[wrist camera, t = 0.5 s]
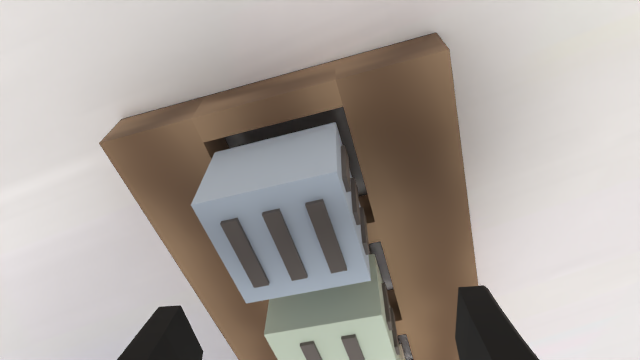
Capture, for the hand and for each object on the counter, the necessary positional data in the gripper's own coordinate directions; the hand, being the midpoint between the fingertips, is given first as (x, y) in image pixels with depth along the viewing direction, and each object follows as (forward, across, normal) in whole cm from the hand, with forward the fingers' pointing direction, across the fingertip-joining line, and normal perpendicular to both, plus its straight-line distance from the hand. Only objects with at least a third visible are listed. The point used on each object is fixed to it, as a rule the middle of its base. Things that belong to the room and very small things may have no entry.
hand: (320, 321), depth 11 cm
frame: (+10, 0, +8) cm, 13 cm away
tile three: (+7, +1, +1) cm, 8 cm away
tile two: (+7, 0, +8) cm, 11 cm away
